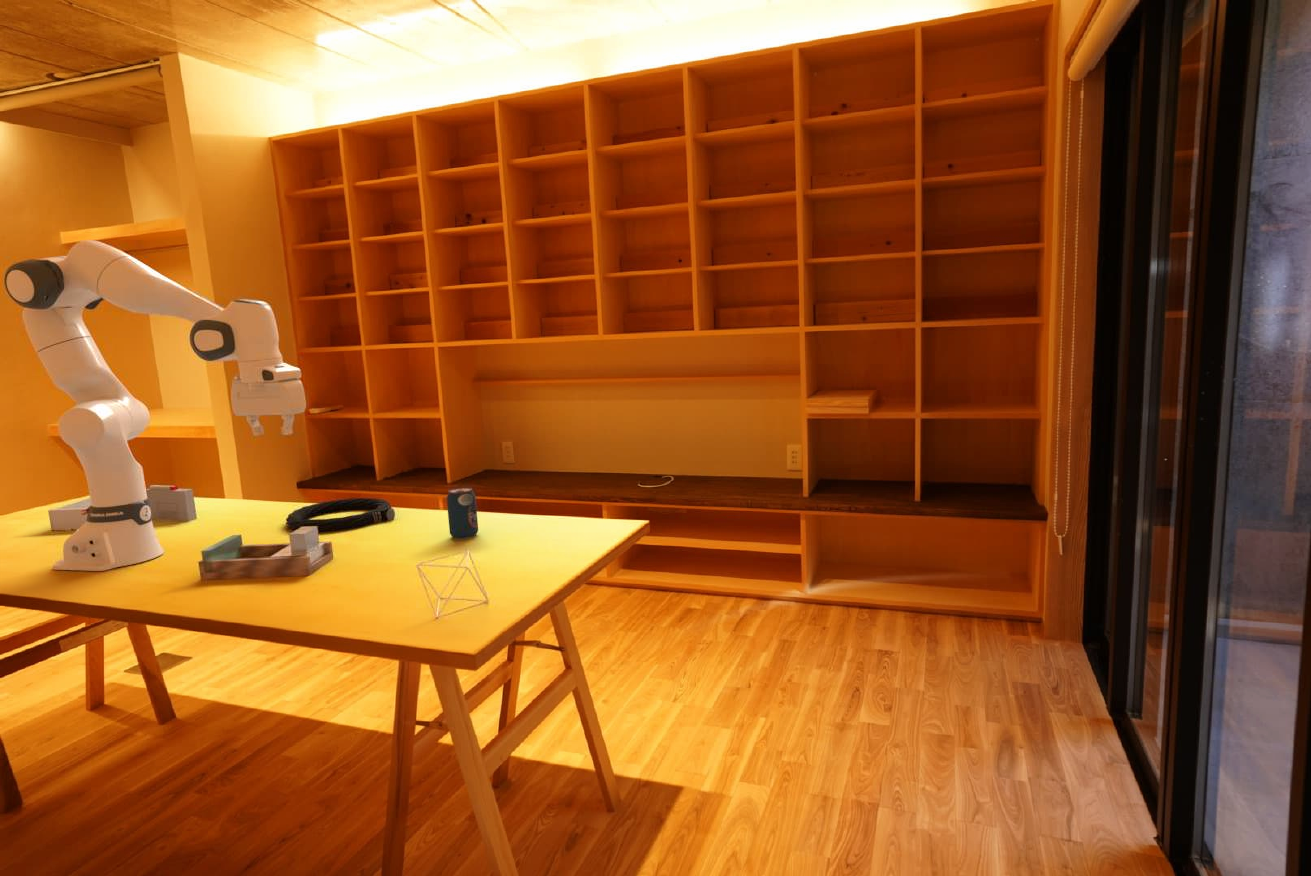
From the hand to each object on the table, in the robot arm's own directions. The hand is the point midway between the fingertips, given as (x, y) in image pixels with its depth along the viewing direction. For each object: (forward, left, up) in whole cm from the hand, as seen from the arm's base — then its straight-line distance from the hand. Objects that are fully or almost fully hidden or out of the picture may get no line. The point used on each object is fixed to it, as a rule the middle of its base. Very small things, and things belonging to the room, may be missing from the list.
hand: (273, 434), depth 170 cm
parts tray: (-82, +50, -30) cm, 101 cm away
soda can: (+36, +16, -30) cm, 50 cm away
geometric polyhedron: (+47, -31, -30) cm, 64 cm away
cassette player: (-59, +47, -30) cm, 81 cm away
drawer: (-3, -4, -30) cm, 30 cm away
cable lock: (-4, +38, -31) cm, 49 cm away
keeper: (+4, -4, -28) cm, 29 cm away
